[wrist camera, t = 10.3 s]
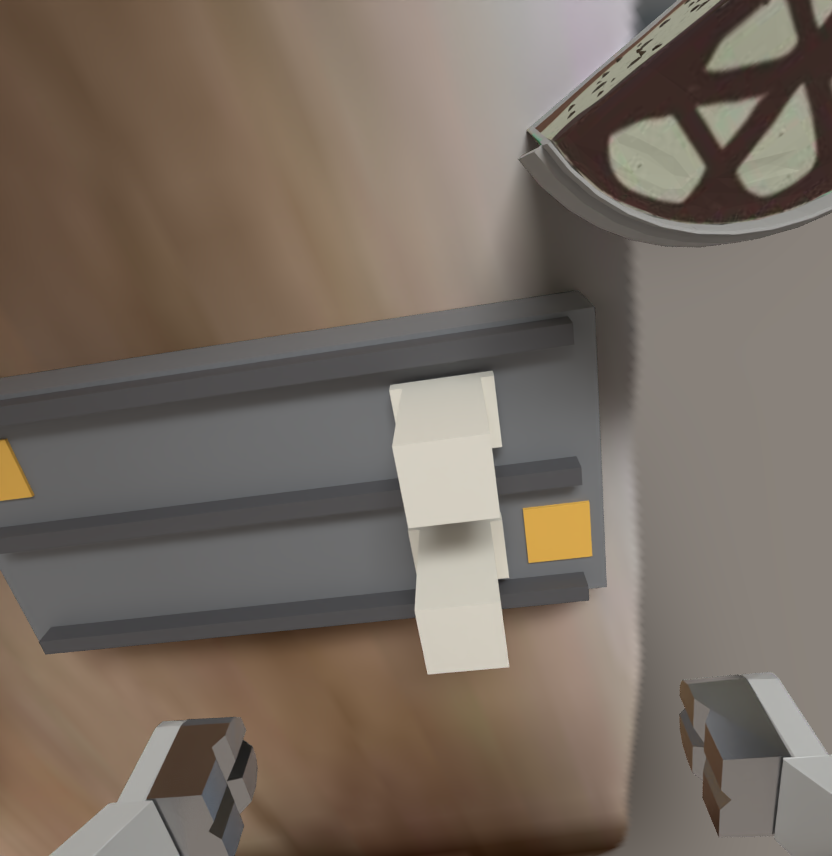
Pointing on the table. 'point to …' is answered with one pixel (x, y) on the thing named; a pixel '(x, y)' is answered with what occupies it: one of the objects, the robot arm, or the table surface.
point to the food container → (700, 127)
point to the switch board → (287, 477)
